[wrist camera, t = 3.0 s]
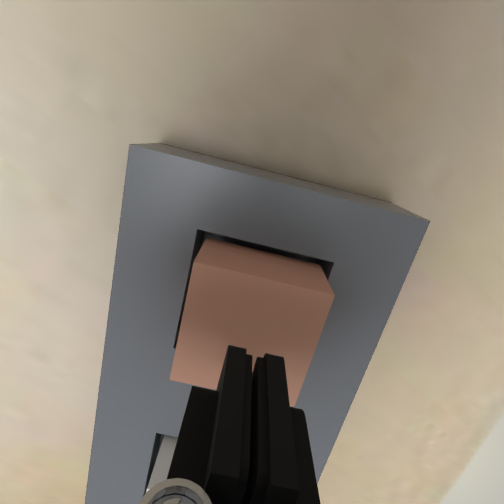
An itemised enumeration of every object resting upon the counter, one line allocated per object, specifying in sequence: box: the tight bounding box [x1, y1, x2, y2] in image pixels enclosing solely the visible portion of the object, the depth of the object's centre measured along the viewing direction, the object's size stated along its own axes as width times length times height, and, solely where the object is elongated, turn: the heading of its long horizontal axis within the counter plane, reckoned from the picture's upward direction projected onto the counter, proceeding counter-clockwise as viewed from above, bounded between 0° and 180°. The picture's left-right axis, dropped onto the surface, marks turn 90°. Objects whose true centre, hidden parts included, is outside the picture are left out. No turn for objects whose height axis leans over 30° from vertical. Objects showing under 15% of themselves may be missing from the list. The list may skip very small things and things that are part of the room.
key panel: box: [85, 143, 430, 504], centre depth 18 cm, size 22×12×4 cm, turn 166°
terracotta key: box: [169, 237, 335, 407], centre depth 14 cm, size 5×5×3 cm
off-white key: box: [146, 435, 178, 492], centre depth 17 cm, size 5×5×3 cm
